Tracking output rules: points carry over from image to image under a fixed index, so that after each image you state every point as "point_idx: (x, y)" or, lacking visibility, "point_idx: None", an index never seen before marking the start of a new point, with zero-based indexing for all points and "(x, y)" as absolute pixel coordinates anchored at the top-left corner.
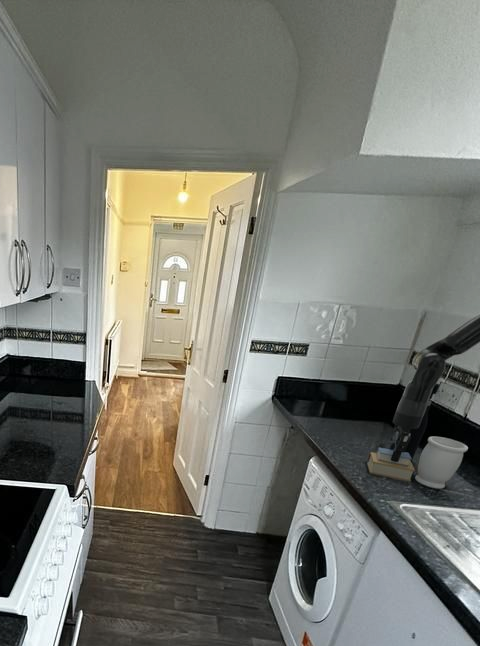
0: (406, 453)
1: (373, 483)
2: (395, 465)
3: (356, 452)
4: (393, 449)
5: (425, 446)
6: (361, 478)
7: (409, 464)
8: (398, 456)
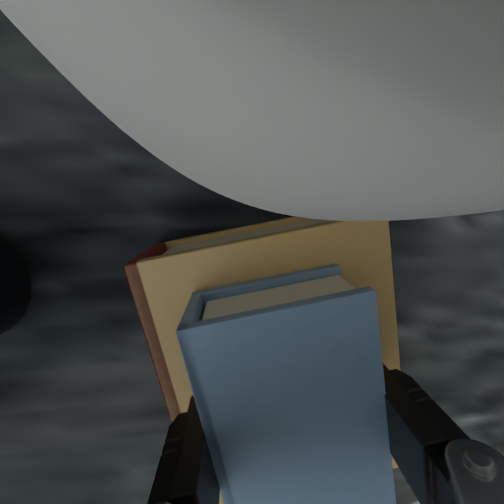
0: (225, 348)
1: (500, 364)
2: (385, 346)
3: (80, 494)
4: (211, 468)
5: (396, 210)
6: (469, 414)
7: (274, 258)
8: (437, 410)
